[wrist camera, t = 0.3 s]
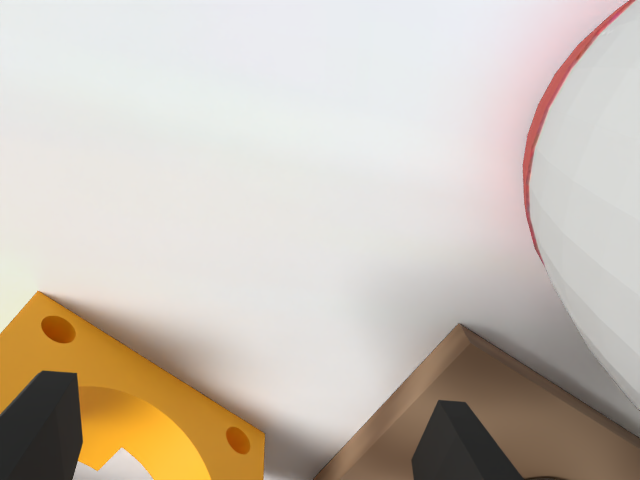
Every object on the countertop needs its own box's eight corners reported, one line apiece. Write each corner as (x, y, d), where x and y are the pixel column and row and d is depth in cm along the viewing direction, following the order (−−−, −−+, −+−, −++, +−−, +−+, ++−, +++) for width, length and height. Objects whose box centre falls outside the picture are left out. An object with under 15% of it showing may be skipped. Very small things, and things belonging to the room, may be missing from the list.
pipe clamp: (-16, 355, 22) (-126, 482, 16) (40, 288, 21) (-57, 398, 15) (208, 481, 26) (187, 621, 20) (264, 430, 25) (260, 562, 19)
